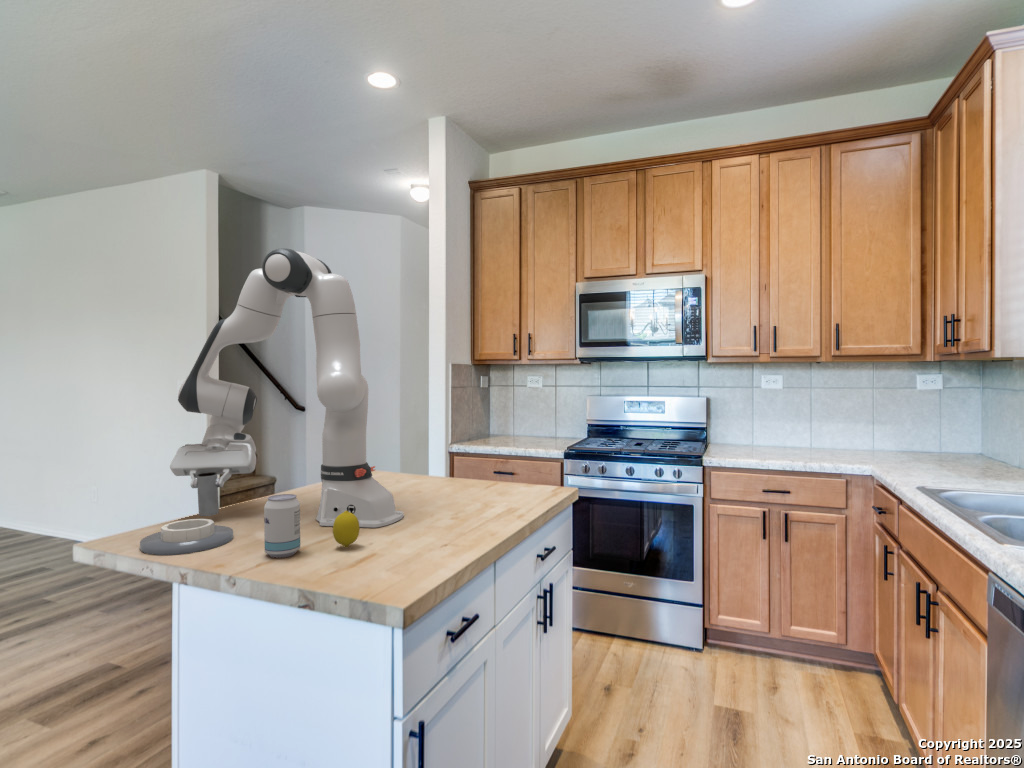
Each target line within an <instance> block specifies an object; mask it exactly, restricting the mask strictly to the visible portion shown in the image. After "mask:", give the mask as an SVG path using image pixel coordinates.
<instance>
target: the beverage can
mask: <svg viewBox="0 0 1024 768" xmlns="http://www.w3.org/2000/svg"><path fill="white" fill-rule="evenodd" d="M263 511H264V512H263V513H264V514H263V515H264V516H263V517H264V520H263V521H264V523H263V524H264V527H263V528H264V553H265V554H267V555H269V556H270V558H274V557H276V558H275V559H281V557H282V558H287V557H291V556H294V555H295V554H296V552H298V551H299V550H301V503H300V501H299V499H298V498H297V494H293V493H282V494H281V493H280V494H275V495H274V494H273V495H270V496H268V497H267V500H266V503H265V504H264V508H263ZM278 557H279V558H278Z"/></svg>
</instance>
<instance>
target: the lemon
mask: <svg viewBox="0 0 1024 768" xmlns="http://www.w3.org/2000/svg"><path fill="white" fill-rule="evenodd" d="M332 535H333V538H334V540H335V541H336V543H338V545H341V546H343V547H344V548H348V547H350V545H352V544H354V543H355V542H356V541H357V539H358V538H359V535H360V527H359V522H358V519H357V517H356V516H355V515H354V514H352V513H350V512H348V511H344V512H343V513H341V514H340V515H338V516H337V518H336V519H335V521H334V525H333V526H332Z"/></svg>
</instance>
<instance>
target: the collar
mask: <svg viewBox="0 0 1024 768" xmlns="http://www.w3.org/2000/svg"><path fill="white" fill-rule="evenodd" d="M233 539H234V530H233V528H232V527H229V526H226V525H220V524H218V525H217V524H215V521H214V520H212V519H208V518H192V519H191V518H190V519H184V520H177V521H173V522H169V523H166V524H164V525H163V526H161V527H160V531H158V532H155V533H154V532H153V533H152V534H149V535H147V536H145V537H143V538H142V539H141V540H140V541H139V550H141V551H142V552H141V551H140V552H141V553H143V552H144V554H146V553H148V554H147V555H151V554H155V555H154V556H174V555H175V556H176V554H178V555H184V554H185V555H186V553H187V554H194V553H198V551H199V552H204V551H207V550H212V549H215V547H216V548H218V546H219V547H221V546H223V545H226V544H228V543H230V542H231V541H232V540H233ZM229 541H230V542H229ZM193 552H194V553H193Z"/></svg>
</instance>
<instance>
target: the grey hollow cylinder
mask: <svg viewBox="0 0 1024 768" xmlns="http://www.w3.org/2000/svg"><path fill="white" fill-rule="evenodd" d="M217 478H218V475H217V473H214V472H209V473H202V474H198V475H197V478H196V479H197V488H196V489H197V501H198V502H197V504H198V516H200V517H211V516H214V515H215V516H216V515H217V514H219V512H220V508H219V506H220V504H219V503H220V502H219V487H216V485H215V482H216V479H217Z"/></svg>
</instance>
